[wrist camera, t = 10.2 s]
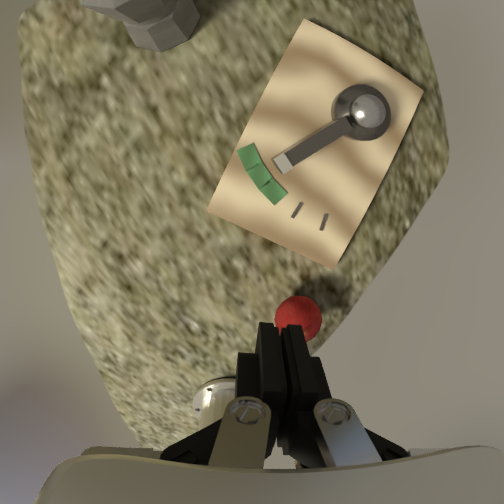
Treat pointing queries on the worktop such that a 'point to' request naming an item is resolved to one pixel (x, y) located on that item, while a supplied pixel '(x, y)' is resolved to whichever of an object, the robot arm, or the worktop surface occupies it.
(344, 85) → the tuner board
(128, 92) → the worktop surface
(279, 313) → the onion
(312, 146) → the dial
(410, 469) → the robot arm
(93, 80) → the worktop surface
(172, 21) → the coffeepot
